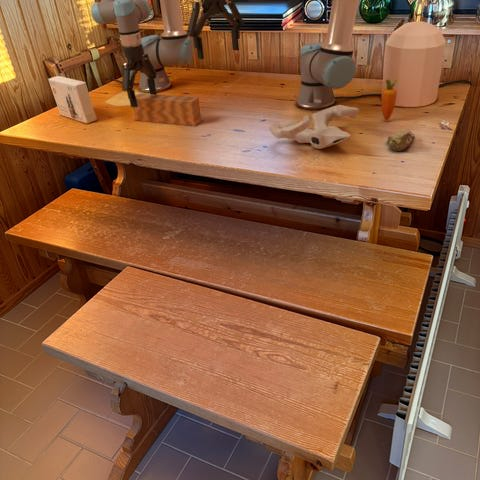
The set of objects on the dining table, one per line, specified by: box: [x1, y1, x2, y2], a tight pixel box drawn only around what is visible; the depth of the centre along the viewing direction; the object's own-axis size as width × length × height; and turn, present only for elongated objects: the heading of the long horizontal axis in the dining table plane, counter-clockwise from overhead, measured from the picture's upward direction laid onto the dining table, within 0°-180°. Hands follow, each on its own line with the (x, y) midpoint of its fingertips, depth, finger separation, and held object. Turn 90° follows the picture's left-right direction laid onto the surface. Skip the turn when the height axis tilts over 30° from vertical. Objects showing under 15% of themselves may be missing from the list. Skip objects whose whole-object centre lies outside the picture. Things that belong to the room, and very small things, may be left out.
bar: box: [132, 93, 203, 127], centre depth 183 cm, size 28×6×9 cm, turn 65°
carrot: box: [380, 79, 397, 122], centre depth 161 cm, size 5×5×15 cm
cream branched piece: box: [268, 104, 360, 150], centre depth 153 cm, size 28×26×12 cm
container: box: [380, 20, 447, 108], centre depth 175 cm, size 21×21×28 cm
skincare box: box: [47, 75, 98, 124], centre depth 192 cm, size 21×6×16 cm, turn 49°
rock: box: [387, 129, 416, 152], centre depth 146 cm, size 11×6×10 cm
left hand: (144, 100), depth 185 cm, fingers open, 13 cm apart
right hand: (218, 54), depth 152 cm, fingers open, 13 cm apart
